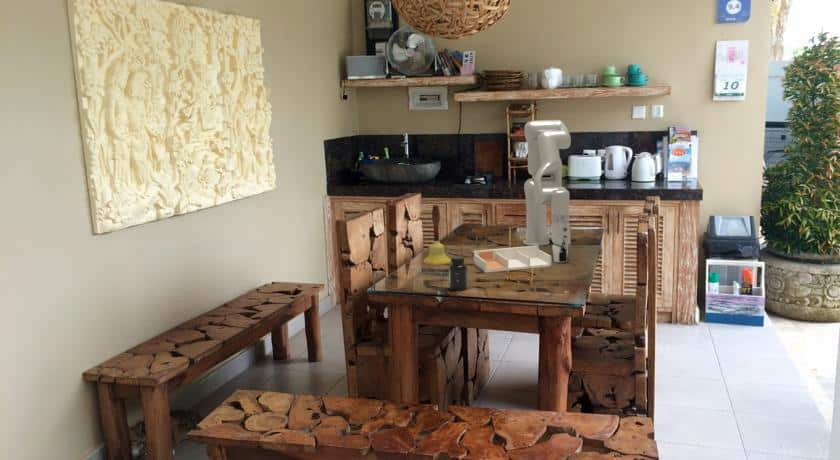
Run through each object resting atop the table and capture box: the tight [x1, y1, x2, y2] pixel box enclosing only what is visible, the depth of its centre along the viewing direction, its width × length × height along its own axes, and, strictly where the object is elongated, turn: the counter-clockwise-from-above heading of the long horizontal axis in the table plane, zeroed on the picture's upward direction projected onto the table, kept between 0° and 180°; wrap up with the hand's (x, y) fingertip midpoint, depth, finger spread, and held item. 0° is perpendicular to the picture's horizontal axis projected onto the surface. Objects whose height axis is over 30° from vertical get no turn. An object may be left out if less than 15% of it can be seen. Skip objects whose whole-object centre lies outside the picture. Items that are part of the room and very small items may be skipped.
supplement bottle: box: [448, 255, 468, 291], centre depth 270 cm, size 7×7×12 cm
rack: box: [473, 245, 552, 274], centre depth 302 cm, size 29×15×6 cm, turn 103°
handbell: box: [423, 204, 451, 265], centre depth 313 cm, size 12×12×25 cm
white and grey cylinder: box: [551, 243, 569, 263], centre depth 307 cm, size 7×7×7 cm
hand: (560, 259), depth 308 cm, fingers closed on white and grey cylinder, 5 cm apart
